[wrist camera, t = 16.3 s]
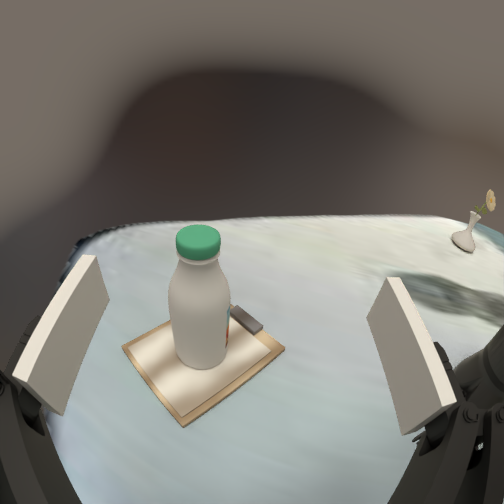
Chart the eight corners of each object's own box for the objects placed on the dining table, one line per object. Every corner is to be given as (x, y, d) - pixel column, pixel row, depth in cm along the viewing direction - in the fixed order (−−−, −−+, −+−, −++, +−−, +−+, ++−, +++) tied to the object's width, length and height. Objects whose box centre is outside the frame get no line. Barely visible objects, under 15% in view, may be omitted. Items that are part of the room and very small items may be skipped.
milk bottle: (221, 376, 36) (226, 264, 24) (169, 363, 36) (147, 248, 25) (231, 335, 42) (242, 222, 30) (184, 324, 42) (177, 211, 31)
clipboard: (284, 350, 42) (286, 343, 41) (183, 427, 29) (181, 423, 28) (218, 296, 50) (218, 289, 49) (122, 348, 38) (119, 342, 37)
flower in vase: (457, 251, 77) (483, 188, 63) (446, 235, 86) (468, 176, 72) (479, 258, 76) (506, 199, 61) (468, 242, 85) (490, 187, 71)
